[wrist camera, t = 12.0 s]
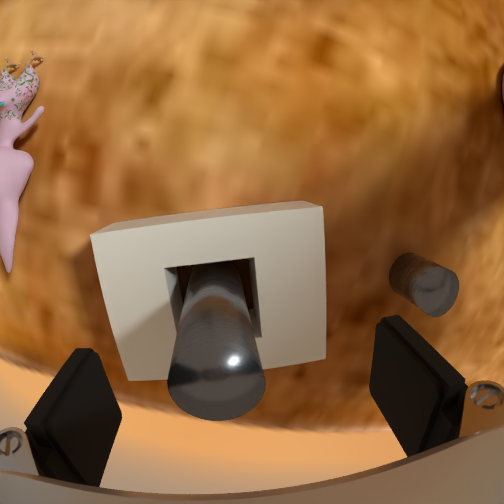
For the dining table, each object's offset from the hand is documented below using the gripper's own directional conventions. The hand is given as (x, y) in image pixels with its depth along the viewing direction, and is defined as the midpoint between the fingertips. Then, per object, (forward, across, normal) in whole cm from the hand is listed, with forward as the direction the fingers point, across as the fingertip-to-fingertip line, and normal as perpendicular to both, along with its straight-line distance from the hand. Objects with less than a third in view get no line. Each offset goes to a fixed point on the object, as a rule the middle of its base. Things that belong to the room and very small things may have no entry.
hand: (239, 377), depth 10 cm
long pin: (+11, +1, 0) cm, 11 cm away
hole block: (+11, +1, 0) cm, 11 cm away
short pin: (+12, -13, +2) cm, 17 cm away
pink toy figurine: (+11, +14, -10) cm, 21 cm away
